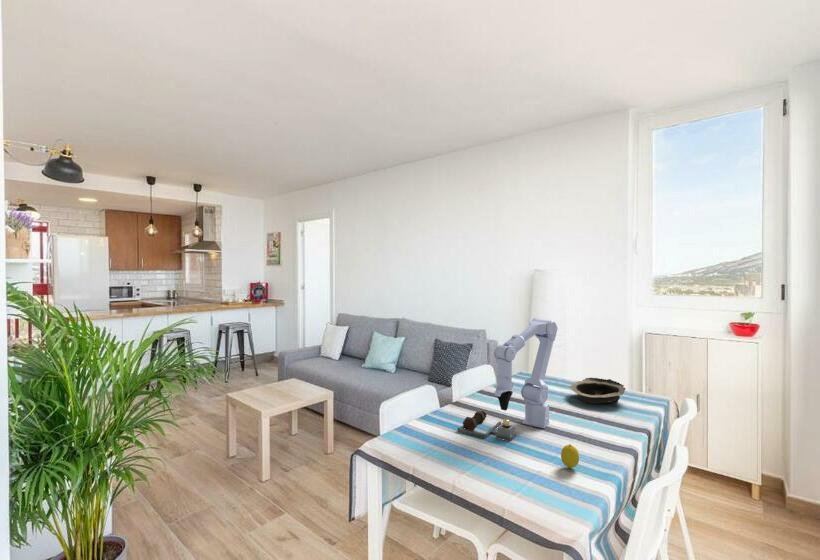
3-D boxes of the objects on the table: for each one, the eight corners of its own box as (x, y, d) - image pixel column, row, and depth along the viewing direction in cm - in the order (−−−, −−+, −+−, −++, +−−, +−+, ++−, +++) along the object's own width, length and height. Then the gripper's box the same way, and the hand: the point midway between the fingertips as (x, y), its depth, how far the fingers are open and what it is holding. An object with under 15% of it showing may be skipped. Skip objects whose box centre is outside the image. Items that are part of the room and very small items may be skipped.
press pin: (510, 426, 156) (510, 419, 156) (508, 428, 154) (508, 421, 154) (504, 425, 158) (504, 418, 158) (502, 427, 156) (502, 420, 156)
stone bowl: (627, 397, 202) (627, 379, 201) (622, 417, 181) (623, 397, 180) (574, 389, 215) (575, 372, 214) (564, 406, 194) (565, 387, 193)
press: (522, 429, 164) (522, 418, 164) (508, 444, 150) (508, 433, 149) (474, 418, 175) (475, 408, 175) (457, 431, 161) (457, 421, 161)
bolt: (484, 423, 175) (470, 434, 162) (475, 415, 177) (460, 425, 165) (491, 413, 173) (477, 423, 161) (482, 405, 176) (467, 415, 163)
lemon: (557, 464, 135) (558, 441, 134) (573, 464, 135) (574, 440, 135) (565, 473, 129) (566, 448, 129) (582, 472, 130) (582, 448, 129)
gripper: (501, 370, 167) (501, 402, 168) (487, 378, 155) (487, 413, 156) (518, 372, 163) (517, 405, 164) (505, 381, 151) (504, 416, 152)
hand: (504, 409), depth 160 cm, fingers closed
